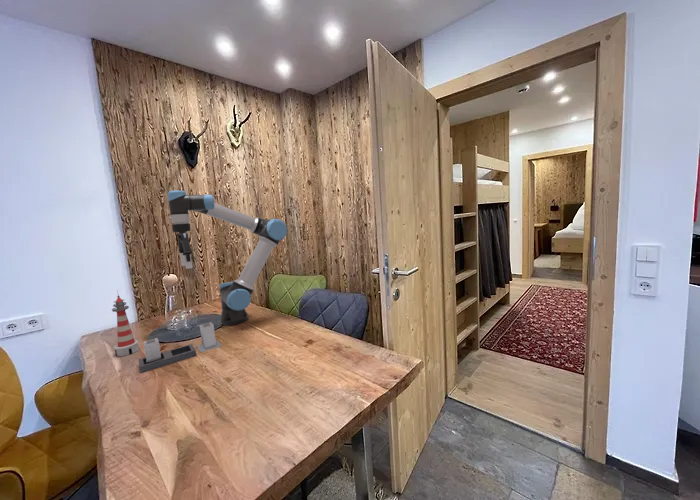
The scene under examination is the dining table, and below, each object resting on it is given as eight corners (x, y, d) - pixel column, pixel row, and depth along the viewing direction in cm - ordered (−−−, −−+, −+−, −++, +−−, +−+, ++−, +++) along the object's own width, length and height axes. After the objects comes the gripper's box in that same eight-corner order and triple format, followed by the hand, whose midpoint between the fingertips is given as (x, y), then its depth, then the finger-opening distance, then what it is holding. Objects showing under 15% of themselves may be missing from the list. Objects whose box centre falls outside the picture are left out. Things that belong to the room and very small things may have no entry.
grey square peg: (213, 342, 139) (211, 321, 138) (216, 345, 135) (213, 324, 134) (202, 345, 136) (199, 324, 135) (204, 349, 132) (201, 327, 131)
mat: (217, 341, 142) (217, 339, 142) (222, 346, 135) (221, 345, 135) (196, 347, 136) (196, 345, 136) (200, 353, 129) (200, 352, 129)
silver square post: (161, 360, 124) (157, 337, 123) (162, 364, 121) (158, 340, 119) (146, 364, 121) (143, 340, 120) (147, 368, 118) (143, 344, 116)
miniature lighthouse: (118, 358, 130) (106, 293, 126) (112, 354, 135) (101, 291, 132) (142, 350, 137) (132, 288, 133) (135, 346, 143) (125, 286, 139)
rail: (192, 349, 134) (191, 343, 133) (196, 356, 127) (195, 350, 126) (139, 365, 122) (138, 359, 121) (140, 374, 114) (139, 367, 114)
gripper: (168, 224, 147) (174, 265, 150) (175, 223, 128) (182, 271, 130) (185, 223, 152) (190, 263, 154) (194, 222, 132) (200, 268, 135)
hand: (186, 267), depth 142 cm, fingers open, 13 cm apart
